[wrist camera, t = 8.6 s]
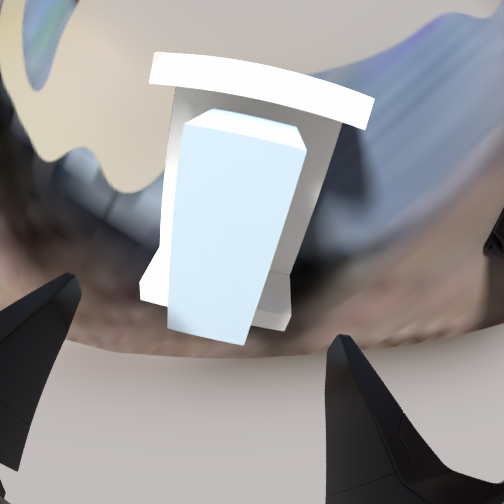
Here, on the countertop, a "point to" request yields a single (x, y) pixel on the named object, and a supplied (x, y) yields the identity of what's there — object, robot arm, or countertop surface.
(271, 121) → the pale blue block
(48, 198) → the countertop surface
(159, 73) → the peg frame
